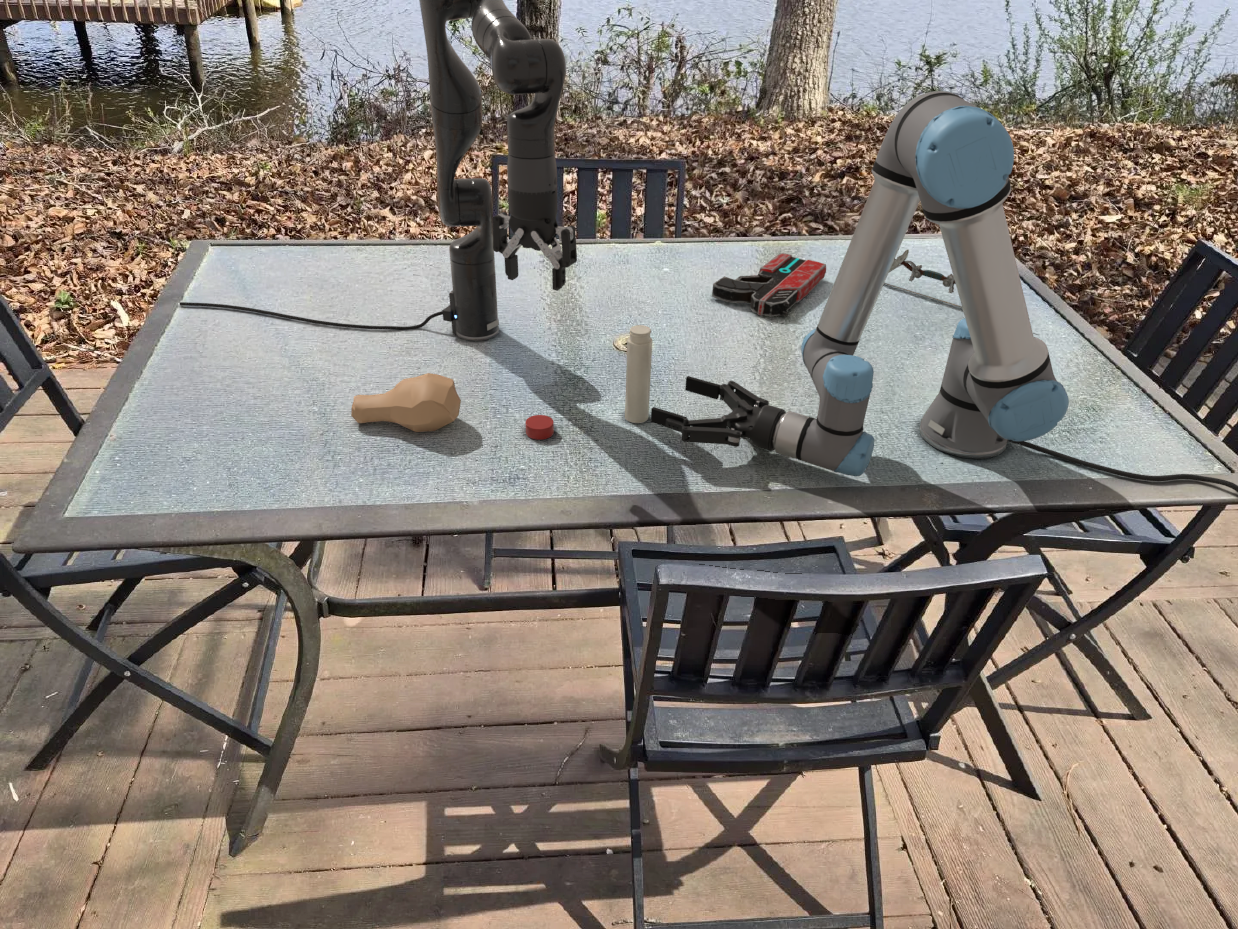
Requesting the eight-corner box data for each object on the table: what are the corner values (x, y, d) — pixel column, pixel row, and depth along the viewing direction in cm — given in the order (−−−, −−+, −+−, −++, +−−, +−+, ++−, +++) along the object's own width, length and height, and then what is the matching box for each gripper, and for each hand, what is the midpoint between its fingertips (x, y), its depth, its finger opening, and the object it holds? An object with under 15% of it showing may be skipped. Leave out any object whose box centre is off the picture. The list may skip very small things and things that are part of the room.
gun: (708, 284, 207) (784, 305, 199) (760, 245, 229) (831, 262, 221) (706, 302, 209) (781, 323, 201) (758, 261, 231) (828, 278, 223)
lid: (546, 422, 162) (546, 412, 160) (558, 435, 158) (558, 425, 157) (521, 429, 160) (521, 418, 158) (532, 442, 156) (532, 431, 155)
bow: (1006, 319, 205) (1018, 279, 199) (1003, 322, 204) (1015, 281, 198) (860, 274, 226) (867, 237, 221) (856, 276, 225) (863, 238, 220)
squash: (461, 438, 156) (449, 399, 150) (353, 447, 158) (336, 409, 152) (469, 400, 164) (458, 361, 158) (366, 408, 166) (350, 370, 160)
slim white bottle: (633, 425, 161) (637, 336, 151) (620, 415, 165) (622, 327, 155) (653, 419, 164) (658, 331, 154) (639, 409, 167) (643, 321, 157)
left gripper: (479, 182, 134) (485, 282, 143) (560, 197, 129) (561, 300, 138) (506, 170, 139) (511, 268, 148) (585, 184, 134) (584, 284, 143)
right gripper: (749, 484, 143) (635, 447, 151) (802, 418, 161) (698, 388, 169) (754, 446, 138) (637, 409, 147) (808, 382, 157) (701, 353, 165)
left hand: (535, 283), depth 143 cm, fingers open, 8 cm apart
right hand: (669, 398), depth 158 cm, fingers open, 13 cm apart
